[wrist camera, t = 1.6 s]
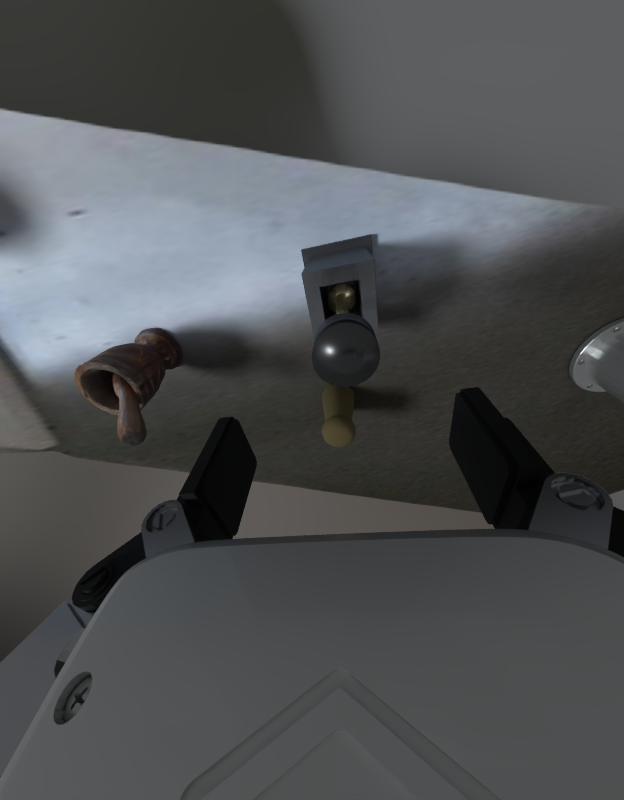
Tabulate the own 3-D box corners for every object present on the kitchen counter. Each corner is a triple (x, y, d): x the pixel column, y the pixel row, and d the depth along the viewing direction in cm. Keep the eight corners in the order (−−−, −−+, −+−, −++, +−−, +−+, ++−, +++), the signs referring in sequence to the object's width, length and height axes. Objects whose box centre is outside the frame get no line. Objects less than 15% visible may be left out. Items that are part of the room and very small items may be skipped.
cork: (357, 384, 47) (362, 425, 38) (352, 411, 51) (355, 454, 42) (323, 381, 47) (320, 422, 38) (320, 408, 51) (317, 451, 42)
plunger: (359, 272, 28) (378, 320, 16) (363, 313, 30) (381, 382, 18) (318, 280, 28) (305, 331, 16) (324, 320, 31) (318, 390, 19)
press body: (370, 234, 34) (384, 244, 24) (375, 319, 40) (388, 354, 30) (301, 249, 35) (289, 264, 26) (316, 329, 42) (311, 365, 32)
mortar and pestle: (196, 325, 43) (111, 396, 26) (209, 372, 48) (144, 455, 31) (127, 324, 43) (4, 393, 27) (147, 370, 48) (53, 451, 32)
